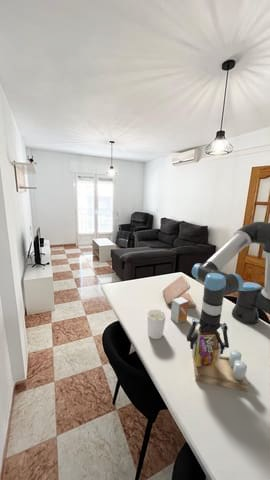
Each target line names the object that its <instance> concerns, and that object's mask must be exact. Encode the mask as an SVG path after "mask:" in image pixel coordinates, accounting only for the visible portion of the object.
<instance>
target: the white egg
mask: <svg viewBox="0 0 270 480" xmlns="http://www.w3.org/2000/svg"><path fill="white" fill-rule="evenodd" d="M228 357H229V362H228V364H229V366H230V367H231V368H234V363H235V361H237V360H239V361H242V353H241V352H240V351H238V350H236V349H231V350H230V352H229V356H228Z"/></svg>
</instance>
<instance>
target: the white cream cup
mask: <svg viewBox="0 0 270 480" xmlns="http://www.w3.org/2000/svg"><path fill="white" fill-rule="evenodd" d="M166 317H167V316H166V313H165V312H164V311H162V310H161V309H160V310H159V309H151V310H149V311H147V335H148V337H149V338H151V339H154V340H160V339H162V337H163V335H164V329H165V322H166Z"/></svg>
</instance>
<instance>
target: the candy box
mask: <svg viewBox="0 0 270 480" xmlns="http://www.w3.org/2000/svg"><path fill="white" fill-rule="evenodd" d="M195 330H196V331H195V332H196V333H197V334H198V338H197V340H196V341H195V343H196V346H195V355H194V358H193V357H192V360H193V359H194V361H195V363H196V365H197V367H198V366H213V365H216V364H217V356H218V347H219V342H218V340H217V338H216V335H215V334H214V332H213V333H211V332H204V333H201V332H199V328H198V329H197V328H196V329H195ZM217 332H218V335H219V337H220V338H221V333H220V332H219V331H218V330H217Z"/></svg>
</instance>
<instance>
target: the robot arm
mask: <svg viewBox="0 0 270 480" xmlns="http://www.w3.org/2000/svg"><path fill="white" fill-rule="evenodd" d="M251 244H258V245H262V251H263V252H264V253H265V267H264V269H265V270H264V271H265V272H264V287H263V288H262V286H261V284H258V283H256V282H251V281H246V282H244V280H243V278H242V277H241V275H239V274H238V273H226V272H223V271H222V269H223V268H224V267H225V266H227V265H228V264H229V263H230V262H231V261H232V260H233V259H234V258H235V257H236V256H237V255H239V253H240V252H242V250H243V249H245V247H248V246H250V245H251ZM191 274H192V276H193V278H195V279H197V280H198V281H201V282H203V283H204V284H203V285H204V286H203V287H204V288H203V297H202V305H201V310H200V311H201V312H200V318H199V319H195V318H192V323H191V326H190V328H189V330H188V332H187V335H186V341H187V342H188V343H189V342H190V344H189V347H190V350H191V355H192V358H193V357H194V355H195V346H196V343H195V341H196V340H197V338H198V334H197V333H196V331H195V330H196V329H197V326H198V325H199V327H198V329H199V332H201V333H204V332H211V333H213V332H214V334H215V335H216V338H217V340H218V342H219V347H218V356H217V362H219V359H220V356H221V355H223V354H224V350H225V348H226V349H229V348H230V344H229V339H228V338H229V337H228V329H229V328H228V325H227V323H225V322H223V323H221V317H222V312H223V311H222V310H223V304H224V303H223V302H224V297H226V296H228V295H231V294H233V293H237V298H236V304H235V305H234V306H233V308H232V310H231V316H232V317H233V318H234V319H235V320H236V321H238V322H240V323H243V324H247V325H256V324H258V323H259V319H260V318H259V312H258V309H259V310H260V311H263V312H264V313H267V314H268V315H270V222H267V221H266V222H265V221H255V222H249V223H247V224H245V225H243V226H242V227H240V228H238V229H237V230H236V231H235V232H234V233H233V236H232V237H231V238H230V239H229V240H228V241H227V242H226V243H225V244H223V246H221V247H220V248H219V249H218V250H217V251H216V252H215V253H213V255H211V256H210V257H209V258H208V259H207V260H206V261H205V262H204V263H195V264H194V265H193V267H192V269H191ZM219 329H221V330H222V336H223V341H222V338H221V336H220V337H219V335H218V332H219V331H218V330H219ZM217 331H218V332H217Z"/></svg>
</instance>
